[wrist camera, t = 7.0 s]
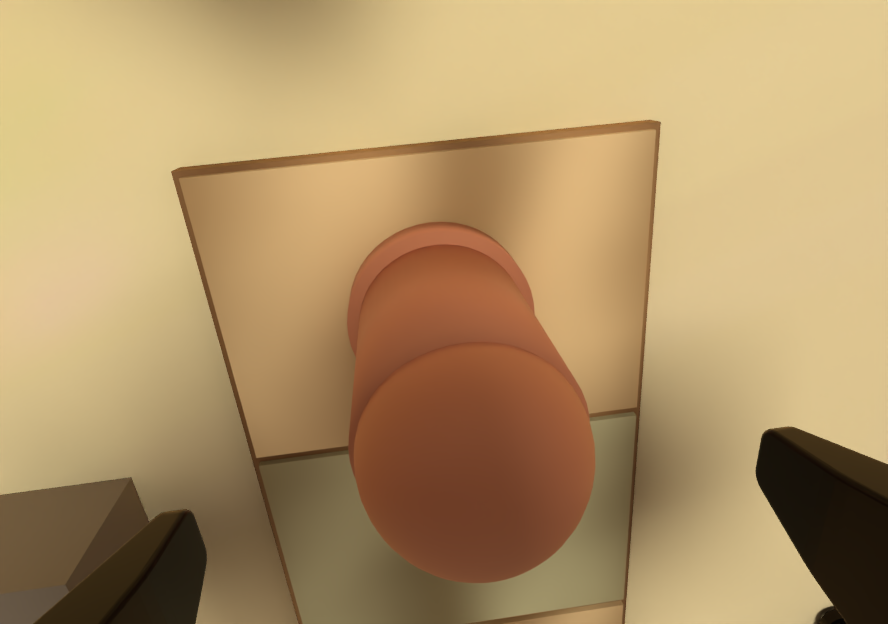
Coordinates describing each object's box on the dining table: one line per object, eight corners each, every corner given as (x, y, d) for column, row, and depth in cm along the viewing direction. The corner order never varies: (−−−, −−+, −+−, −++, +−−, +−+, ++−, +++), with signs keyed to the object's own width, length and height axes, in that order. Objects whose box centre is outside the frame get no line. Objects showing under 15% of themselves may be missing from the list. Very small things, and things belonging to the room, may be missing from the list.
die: (132, 475, 17) (65, 585, 14) (169, 567, 19) (118, 687, 15) (-1, 493, 17) (-107, 609, 13) (48, 585, 19) (-34, 711, 15)
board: (649, 119, 14) (664, 122, 14) (611, 717, 25) (618, 737, 24) (179, 167, 14) (168, 172, 13) (343, 762, 24) (342, 784, 23)
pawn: (523, 212, 14) (681, 369, 7) (527, 373, 16) (653, 635, 9) (335, 232, 14) (282, 421, 6) (363, 394, 16) (346, 683, 8)
